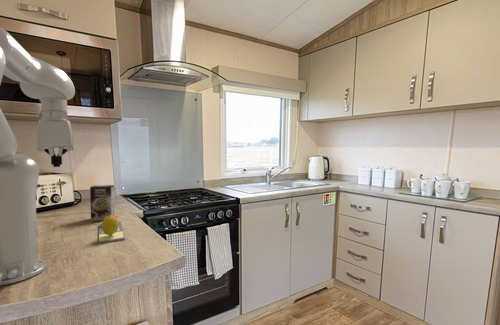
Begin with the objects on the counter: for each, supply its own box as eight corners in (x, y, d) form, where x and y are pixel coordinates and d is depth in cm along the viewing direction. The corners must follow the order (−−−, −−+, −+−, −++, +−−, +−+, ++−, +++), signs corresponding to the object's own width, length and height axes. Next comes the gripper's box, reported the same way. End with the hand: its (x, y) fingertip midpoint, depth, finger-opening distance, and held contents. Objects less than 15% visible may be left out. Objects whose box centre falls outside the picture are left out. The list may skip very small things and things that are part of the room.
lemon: (111, 239, 91) (110, 217, 91) (98, 238, 92) (97, 216, 92) (122, 234, 96) (121, 213, 96) (109, 233, 98) (109, 213, 97)
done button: (117, 220, 109) (116, 217, 109) (103, 222, 106) (103, 218, 106) (116, 218, 113) (116, 214, 113) (103, 219, 110) (103, 216, 110)
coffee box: (90, 221, 117) (89, 187, 117) (94, 217, 124) (93, 185, 123) (111, 219, 120) (110, 186, 119) (115, 216, 126) (114, 184, 125)
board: (124, 239, 92) (124, 233, 92) (98, 244, 88) (97, 237, 88) (120, 222, 115) (120, 217, 115) (99, 225, 111) (99, 220, 110)
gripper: (25, 114, 85) (27, 168, 86) (78, 117, 92) (80, 166, 93) (30, 116, 91) (33, 167, 92) (80, 119, 99) (81, 165, 100)
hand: (56, 166), depth 93 cm, fingers closed
